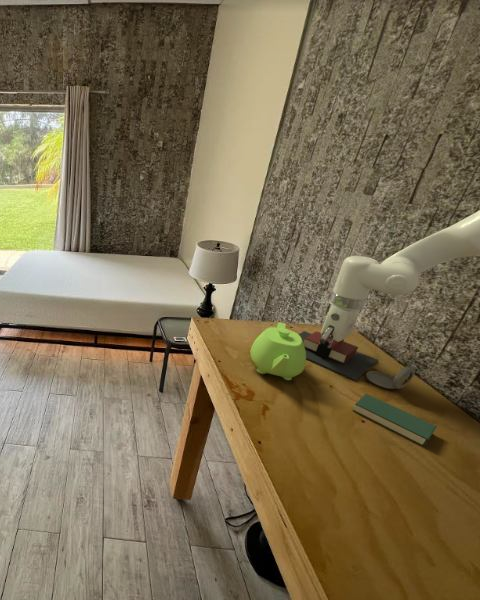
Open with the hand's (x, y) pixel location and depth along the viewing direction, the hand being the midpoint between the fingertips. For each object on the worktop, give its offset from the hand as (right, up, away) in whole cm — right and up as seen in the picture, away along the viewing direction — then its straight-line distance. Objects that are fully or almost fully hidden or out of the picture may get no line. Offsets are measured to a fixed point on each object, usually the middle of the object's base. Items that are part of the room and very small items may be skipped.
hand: (327, 352), depth 96 cm
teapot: (-20, -4, -5) cm, 21 cm away
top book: (0, 0, 0) cm, 1 cm away
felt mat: (0, -1, 0) cm, 1 cm away
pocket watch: (+6, -7, -12) cm, 15 cm away
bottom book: (-4, -12, -24) cm, 27 cm away
